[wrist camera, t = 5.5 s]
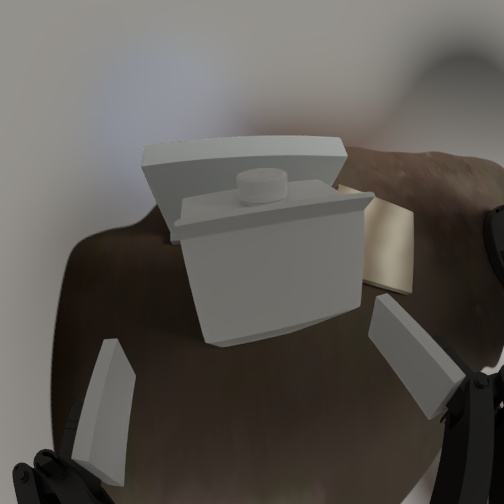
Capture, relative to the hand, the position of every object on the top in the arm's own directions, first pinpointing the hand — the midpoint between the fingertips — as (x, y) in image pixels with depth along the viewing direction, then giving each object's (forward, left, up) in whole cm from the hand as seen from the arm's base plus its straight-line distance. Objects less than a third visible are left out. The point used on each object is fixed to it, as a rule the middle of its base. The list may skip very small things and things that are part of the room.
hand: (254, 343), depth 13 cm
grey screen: (+4, -13, -13) cm, 19 cm away
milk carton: (+1, -4, -13) cm, 14 cm away
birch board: (-11, -15, -13) cm, 23 cm away
